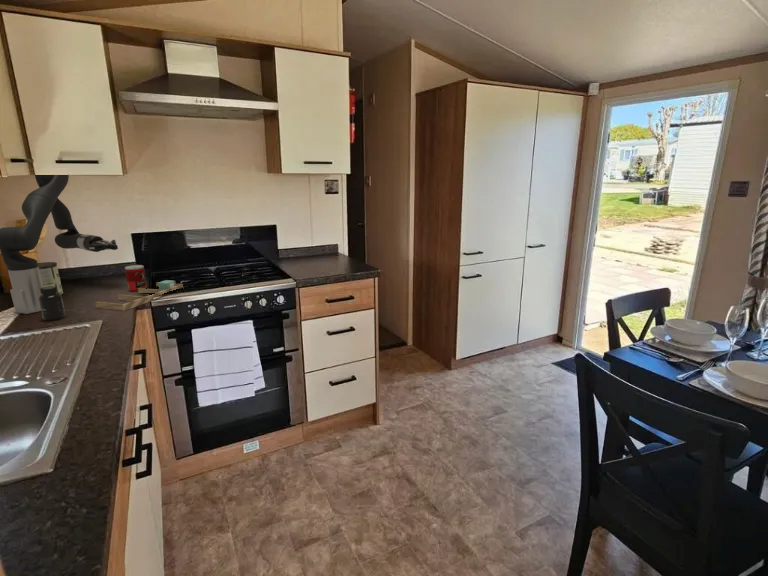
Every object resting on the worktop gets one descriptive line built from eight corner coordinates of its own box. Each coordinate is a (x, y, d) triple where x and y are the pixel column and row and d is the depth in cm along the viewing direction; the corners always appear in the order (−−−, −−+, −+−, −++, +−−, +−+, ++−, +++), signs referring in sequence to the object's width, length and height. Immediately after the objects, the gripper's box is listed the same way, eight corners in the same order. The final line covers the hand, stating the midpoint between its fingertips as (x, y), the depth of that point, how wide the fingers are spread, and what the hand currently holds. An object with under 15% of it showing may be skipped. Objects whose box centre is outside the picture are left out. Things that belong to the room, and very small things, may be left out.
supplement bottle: (39, 322, 154) (32, 290, 151) (48, 316, 161) (41, 286, 157) (61, 320, 156) (54, 289, 153) (69, 314, 162) (62, 284, 159)
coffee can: (33, 294, 189) (25, 264, 185) (61, 290, 196) (54, 261, 192) (36, 299, 182) (28, 268, 178) (65, 294, 189) (58, 264, 185)
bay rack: (124, 310, 166) (123, 304, 166) (96, 307, 170) (95, 301, 169) (183, 289, 196) (182, 284, 196) (157, 287, 200) (157, 282, 199)
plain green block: (168, 294, 189) (167, 283, 188) (159, 293, 190) (157, 282, 189) (176, 291, 194) (175, 280, 192) (167, 290, 195) (166, 280, 194)
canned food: (139, 292, 192) (135, 268, 189) (124, 291, 194) (120, 268, 191) (151, 287, 199) (147, 265, 196) (137, 287, 201) (133, 264, 198)
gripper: (74, 238, 191) (100, 242, 185) (102, 232, 202) (127, 236, 196) (78, 254, 194) (103, 258, 187) (105, 247, 205) (130, 251, 199)
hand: (116, 247), depth 192 cm, fingers closed
